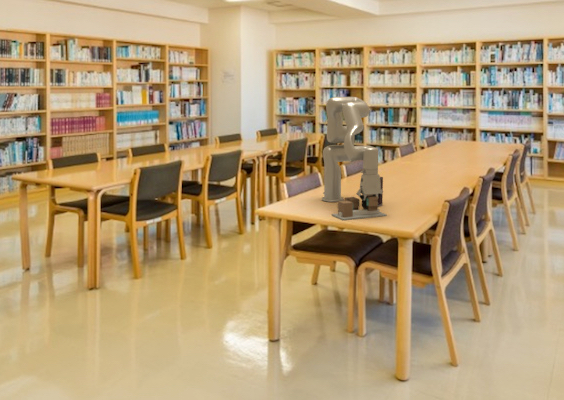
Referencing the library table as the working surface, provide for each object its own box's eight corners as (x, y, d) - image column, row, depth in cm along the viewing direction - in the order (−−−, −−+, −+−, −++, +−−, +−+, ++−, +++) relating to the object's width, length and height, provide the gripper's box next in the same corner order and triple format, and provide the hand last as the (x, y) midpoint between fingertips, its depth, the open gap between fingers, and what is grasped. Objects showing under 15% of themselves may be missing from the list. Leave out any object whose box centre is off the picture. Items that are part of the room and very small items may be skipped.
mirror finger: (344, 210, 308) (344, 197, 307) (354, 209, 310) (354, 196, 309) (350, 212, 303) (350, 199, 301) (359, 211, 305) (360, 198, 304)
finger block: (361, 209, 299) (362, 195, 298) (371, 208, 301) (371, 194, 300) (367, 211, 294) (368, 197, 292) (377, 210, 296) (377, 196, 294)
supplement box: (382, 205, 322) (383, 176, 319) (379, 206, 318) (380, 177, 315) (368, 203, 326) (368, 175, 323) (364, 205, 322) (365, 176, 319)
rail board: (331, 215, 296) (331, 200, 295) (373, 211, 306) (374, 196, 304) (343, 220, 286) (343, 204, 284) (386, 215, 295) (387, 200, 294)
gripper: (359, 173, 287) (358, 209, 291) (389, 171, 294) (388, 207, 297) (351, 172, 294) (351, 207, 297) (380, 169, 300) (379, 204, 304)
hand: (369, 206), depth 297 cm, fingers closed on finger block, 5 cm apart
